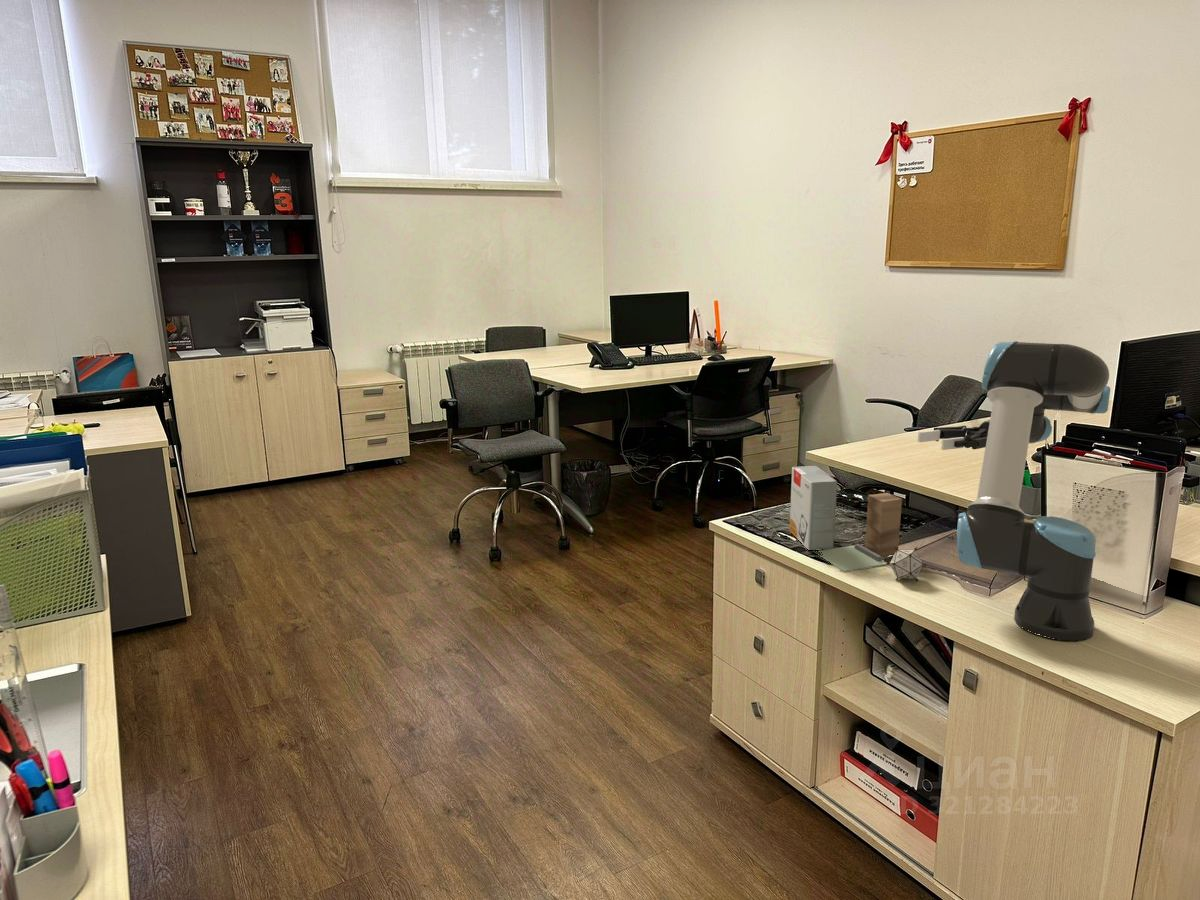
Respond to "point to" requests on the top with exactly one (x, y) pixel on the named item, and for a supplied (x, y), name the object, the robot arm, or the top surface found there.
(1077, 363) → the robot arm
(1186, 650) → the top surface
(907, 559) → the game die
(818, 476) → the hard drive box
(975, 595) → the top surface
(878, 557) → the pale green square plate
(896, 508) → the walnut block
